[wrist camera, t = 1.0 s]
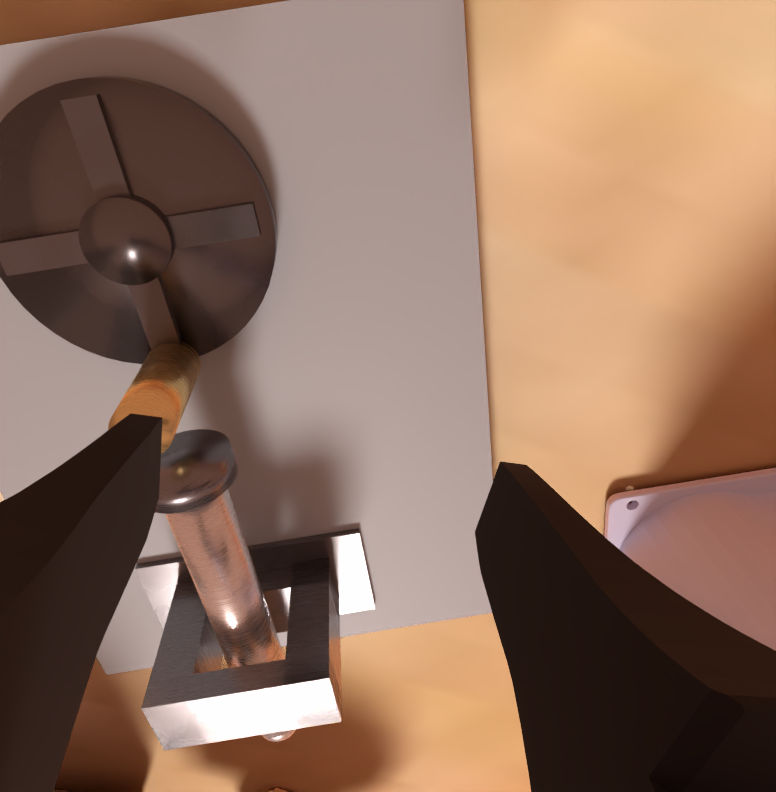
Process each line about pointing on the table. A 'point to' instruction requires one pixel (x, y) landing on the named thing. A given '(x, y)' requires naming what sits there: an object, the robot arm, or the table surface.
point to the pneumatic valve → (277, 790)
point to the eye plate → (265, 682)
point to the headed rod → (217, 547)
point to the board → (306, 299)
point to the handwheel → (133, 230)
